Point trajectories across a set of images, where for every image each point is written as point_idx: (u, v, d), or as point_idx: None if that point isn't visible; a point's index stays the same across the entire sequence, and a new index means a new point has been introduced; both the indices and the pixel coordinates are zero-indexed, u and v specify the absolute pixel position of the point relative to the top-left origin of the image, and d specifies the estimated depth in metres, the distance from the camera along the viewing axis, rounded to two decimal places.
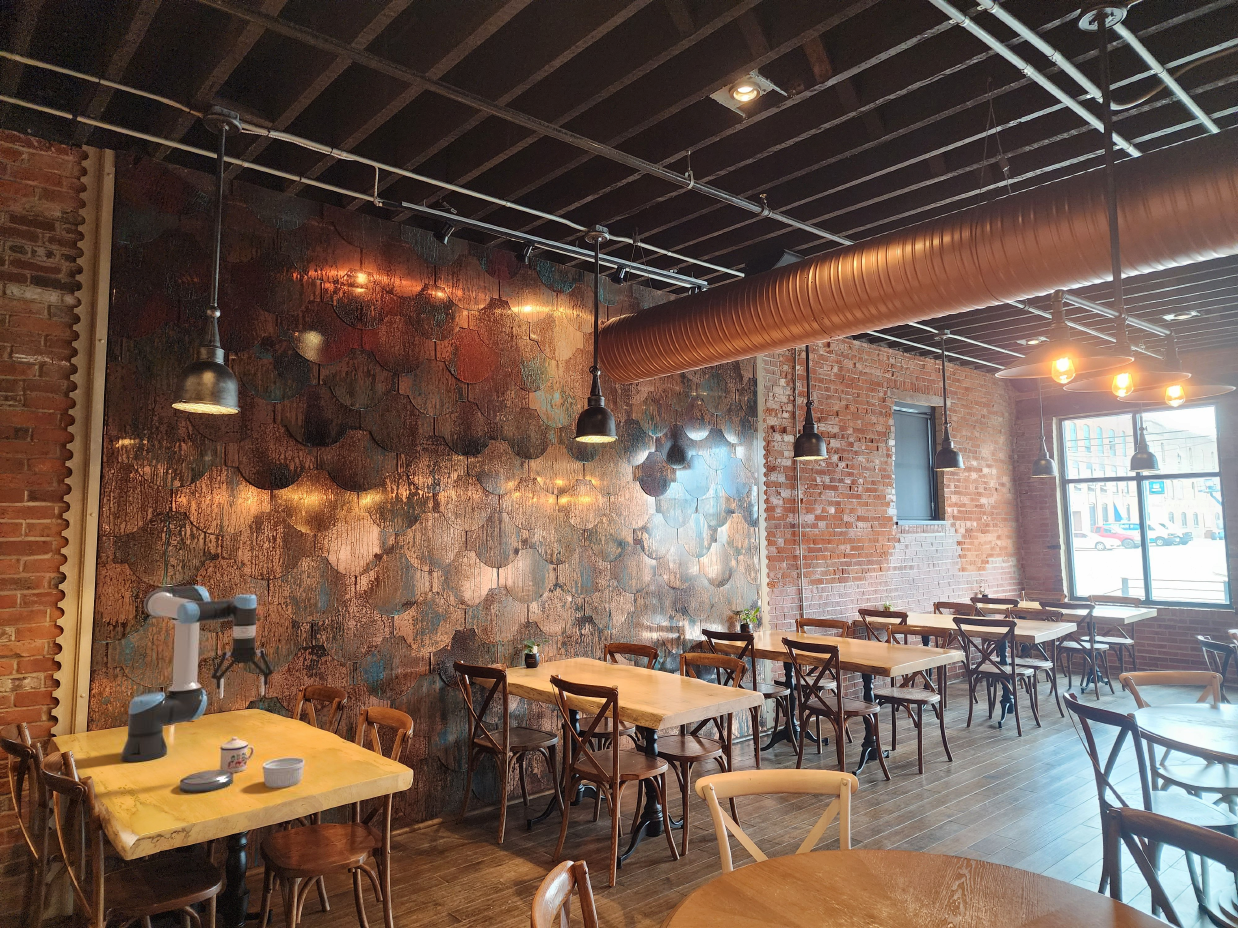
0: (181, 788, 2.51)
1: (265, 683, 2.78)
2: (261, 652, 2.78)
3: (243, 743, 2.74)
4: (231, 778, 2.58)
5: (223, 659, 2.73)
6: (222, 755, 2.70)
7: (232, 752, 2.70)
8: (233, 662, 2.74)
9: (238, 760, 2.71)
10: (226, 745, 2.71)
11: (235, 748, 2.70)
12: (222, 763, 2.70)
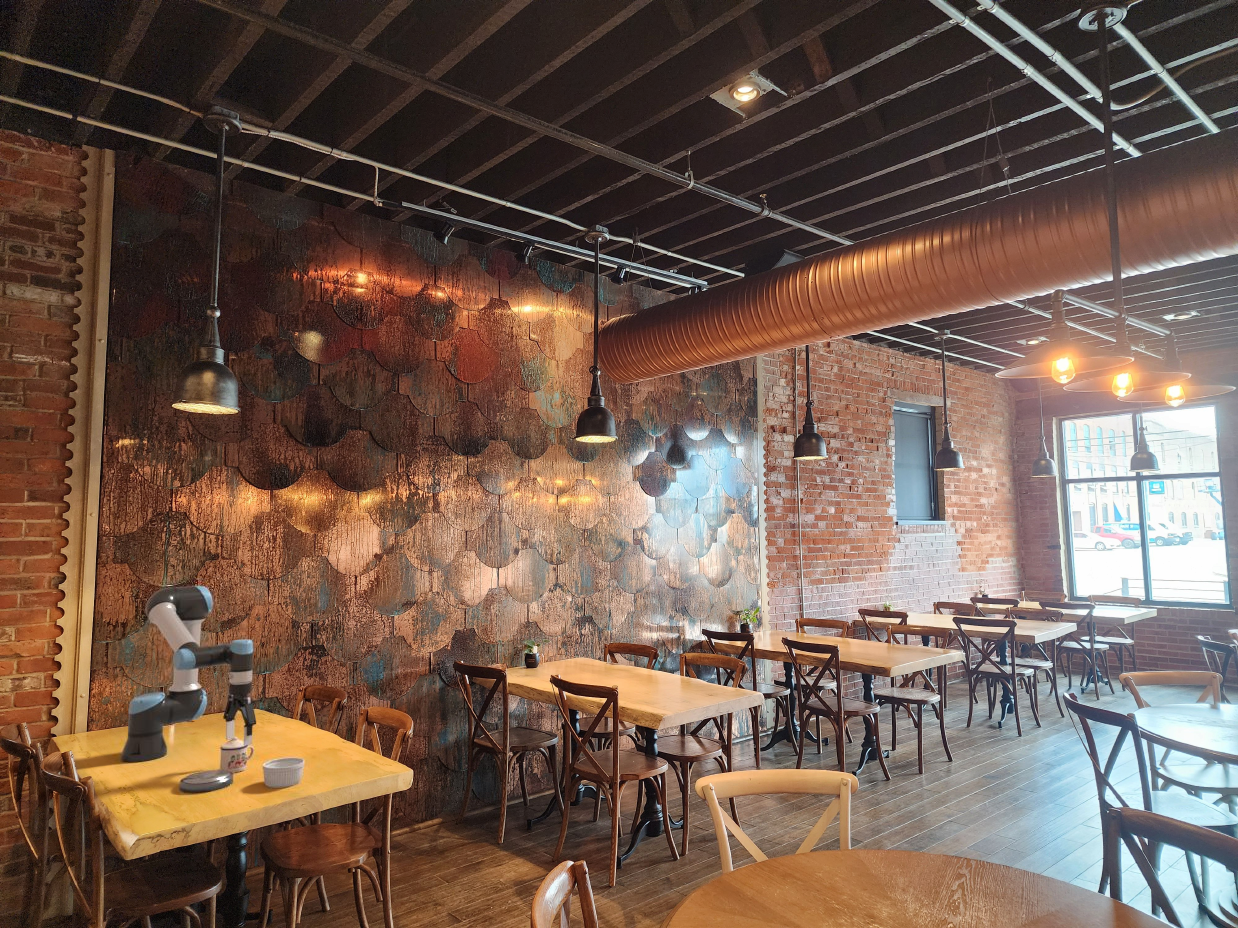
0: (181, 788, 2.51)
1: (247, 733, 2.70)
2: (244, 700, 2.72)
3: (243, 743, 2.74)
4: (231, 778, 2.58)
5: (228, 701, 2.80)
6: (222, 755, 2.70)
7: (232, 752, 2.70)
8: (231, 706, 2.77)
9: (238, 760, 2.71)
10: (226, 745, 2.71)
11: (235, 748, 2.70)
12: (222, 763, 2.70)
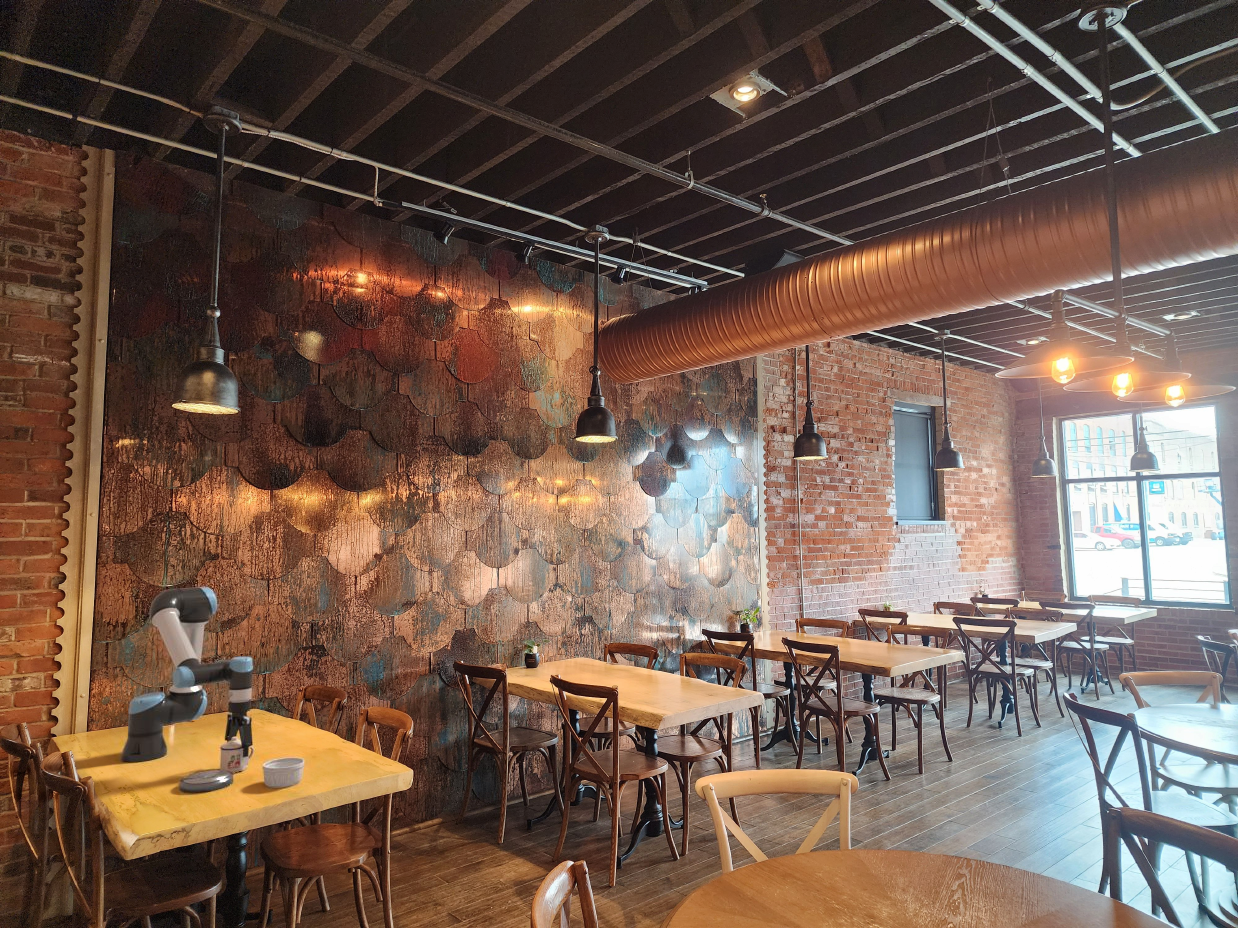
0: (181, 788, 2.51)
1: (243, 755, 2.71)
2: (243, 721, 2.72)
3: None
4: (231, 778, 2.58)
5: (228, 721, 2.79)
6: (222, 755, 2.70)
7: (232, 752, 2.70)
8: (231, 725, 2.76)
9: (238, 760, 2.71)
10: (226, 745, 2.71)
11: (235, 748, 2.70)
12: (222, 763, 2.70)
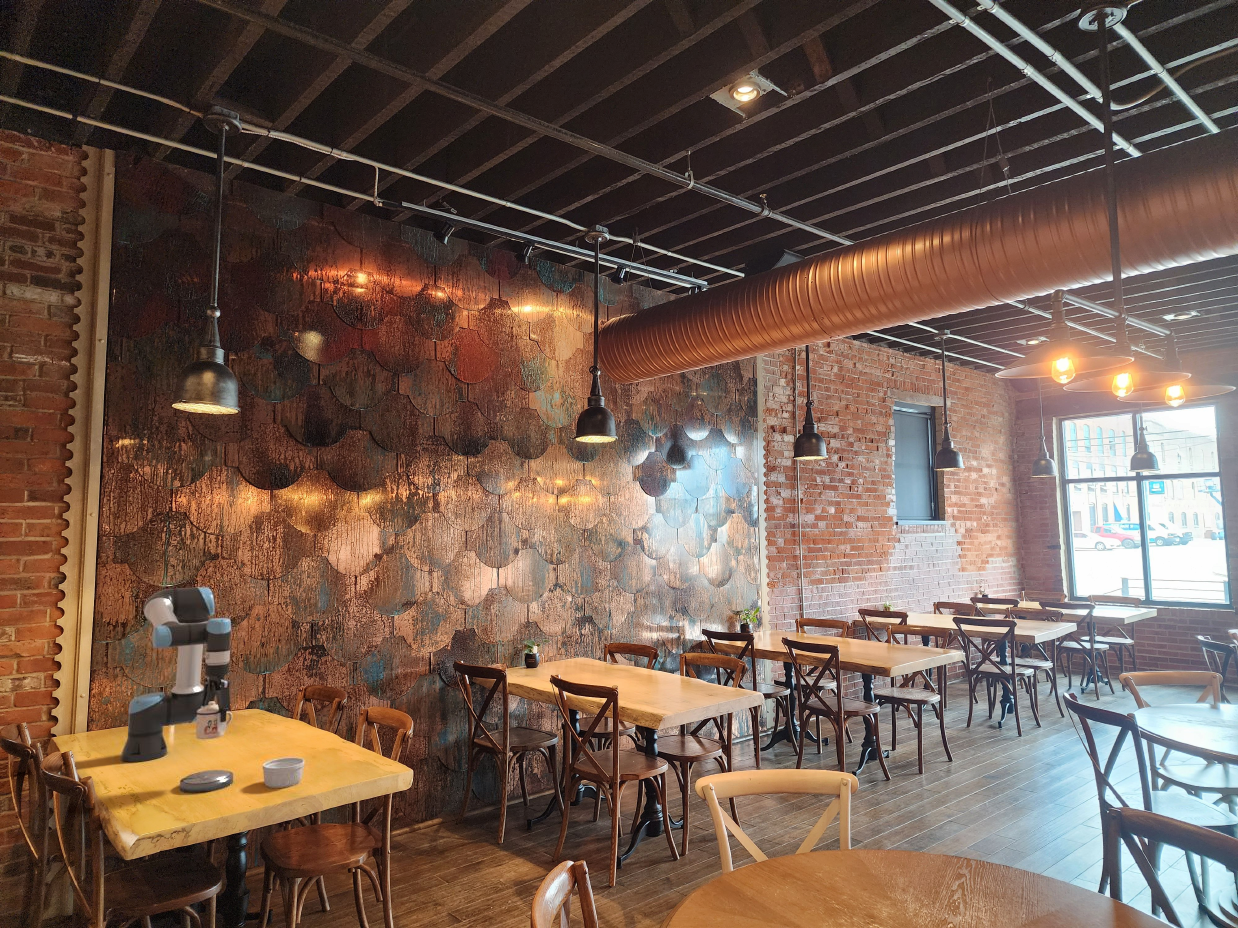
0: (181, 788, 2.51)
1: (221, 720, 2.58)
2: (221, 684, 2.58)
3: None
4: (231, 778, 2.58)
5: (204, 685, 2.65)
6: (198, 720, 2.57)
7: (208, 717, 2.57)
8: (208, 689, 2.63)
9: (215, 726, 2.58)
10: (202, 710, 2.58)
11: (212, 713, 2.57)
12: (198, 728, 2.57)
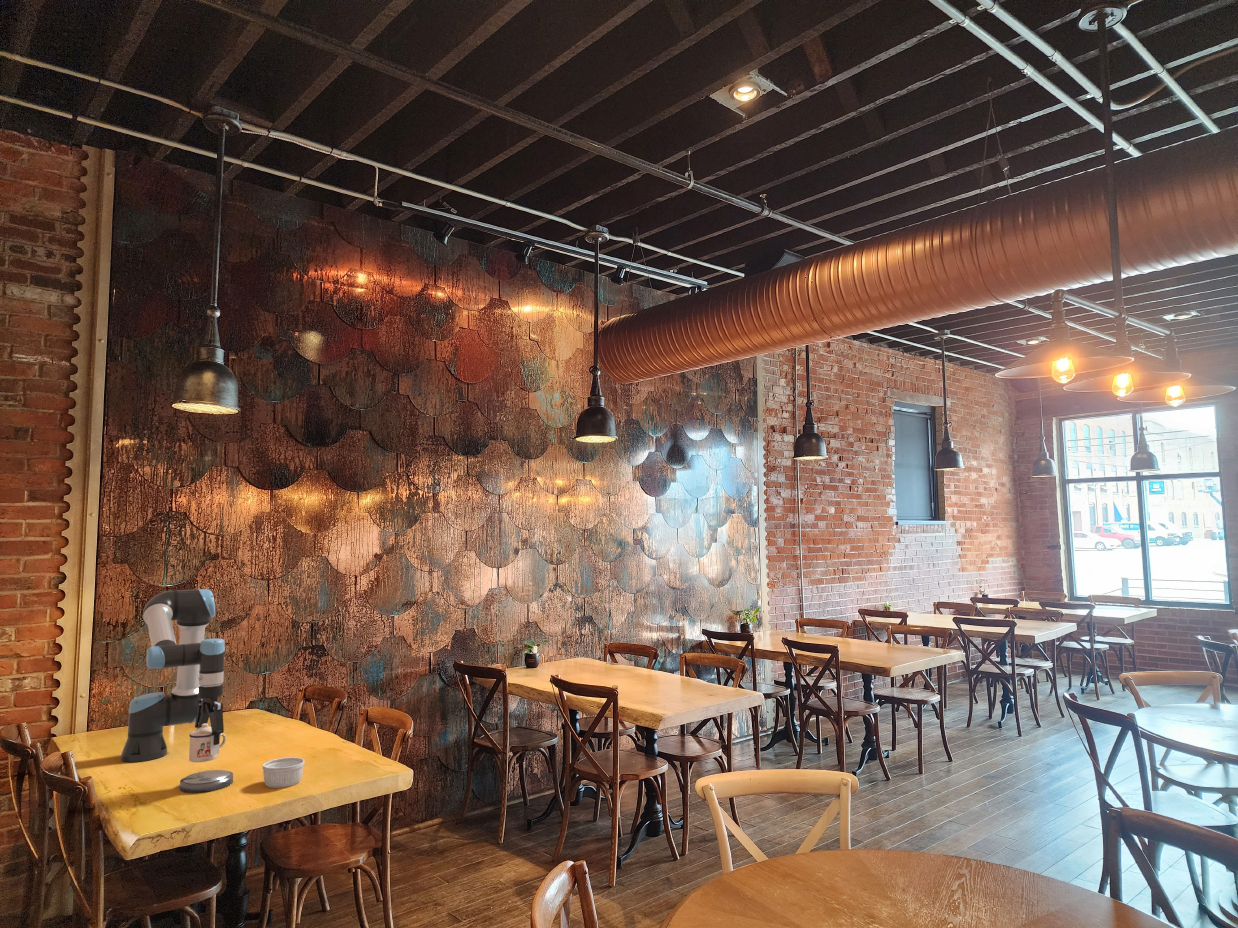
0: (181, 788, 2.51)
1: (214, 742, 2.54)
2: (214, 706, 2.55)
3: None
4: (231, 778, 2.58)
5: (198, 707, 2.62)
6: (191, 743, 2.53)
7: (201, 740, 2.53)
8: (201, 711, 2.59)
9: (208, 748, 2.54)
10: (195, 732, 2.54)
11: (205, 735, 2.53)
12: (191, 751, 2.53)
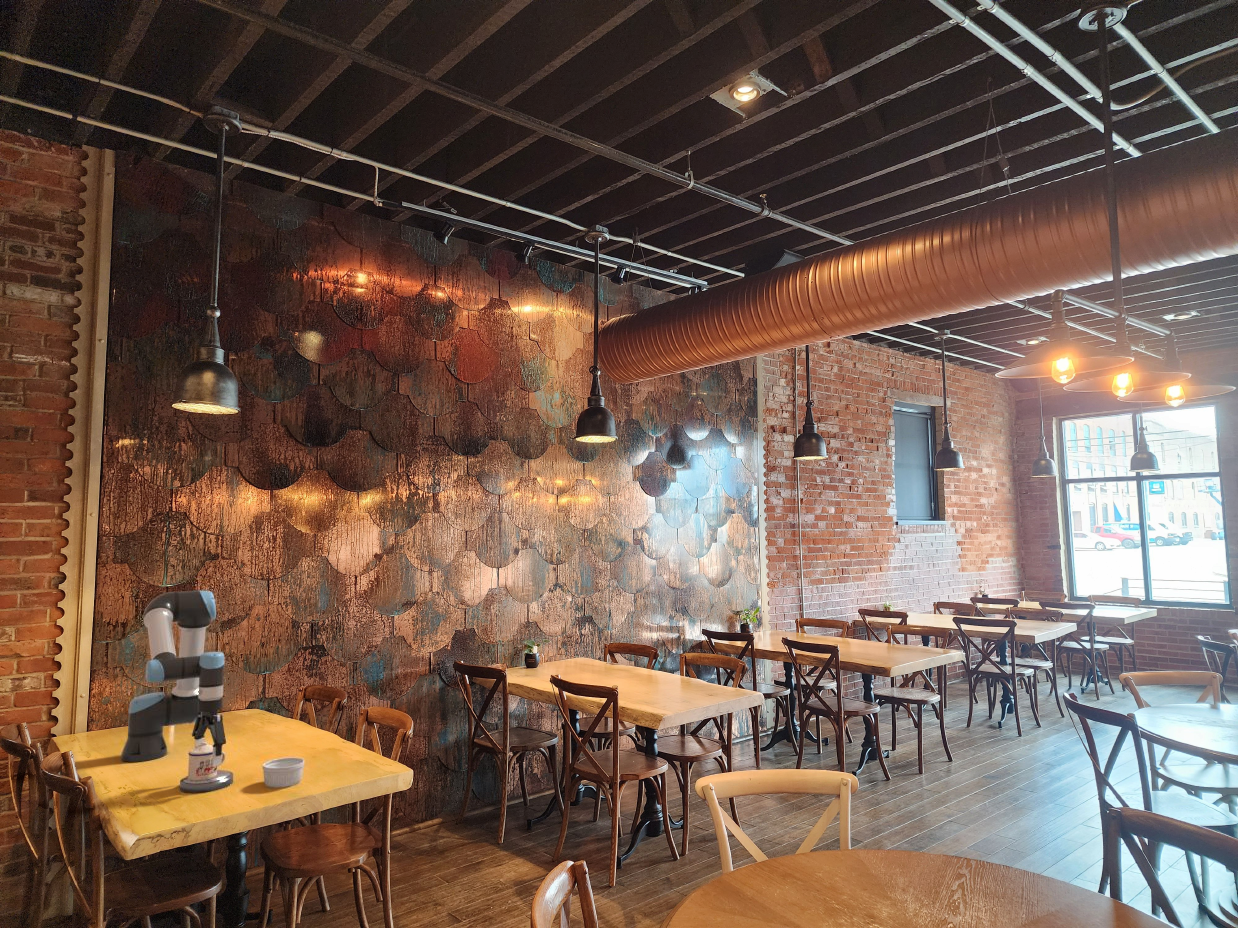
0: (181, 788, 2.51)
1: (216, 753, 2.53)
2: (214, 718, 2.54)
3: None
4: (231, 778, 2.58)
5: (197, 718, 2.62)
6: (190, 761, 2.53)
7: (200, 758, 2.53)
8: (200, 723, 2.59)
9: (207, 767, 2.53)
10: (195, 750, 2.54)
11: (204, 754, 2.53)
12: (190, 770, 2.52)
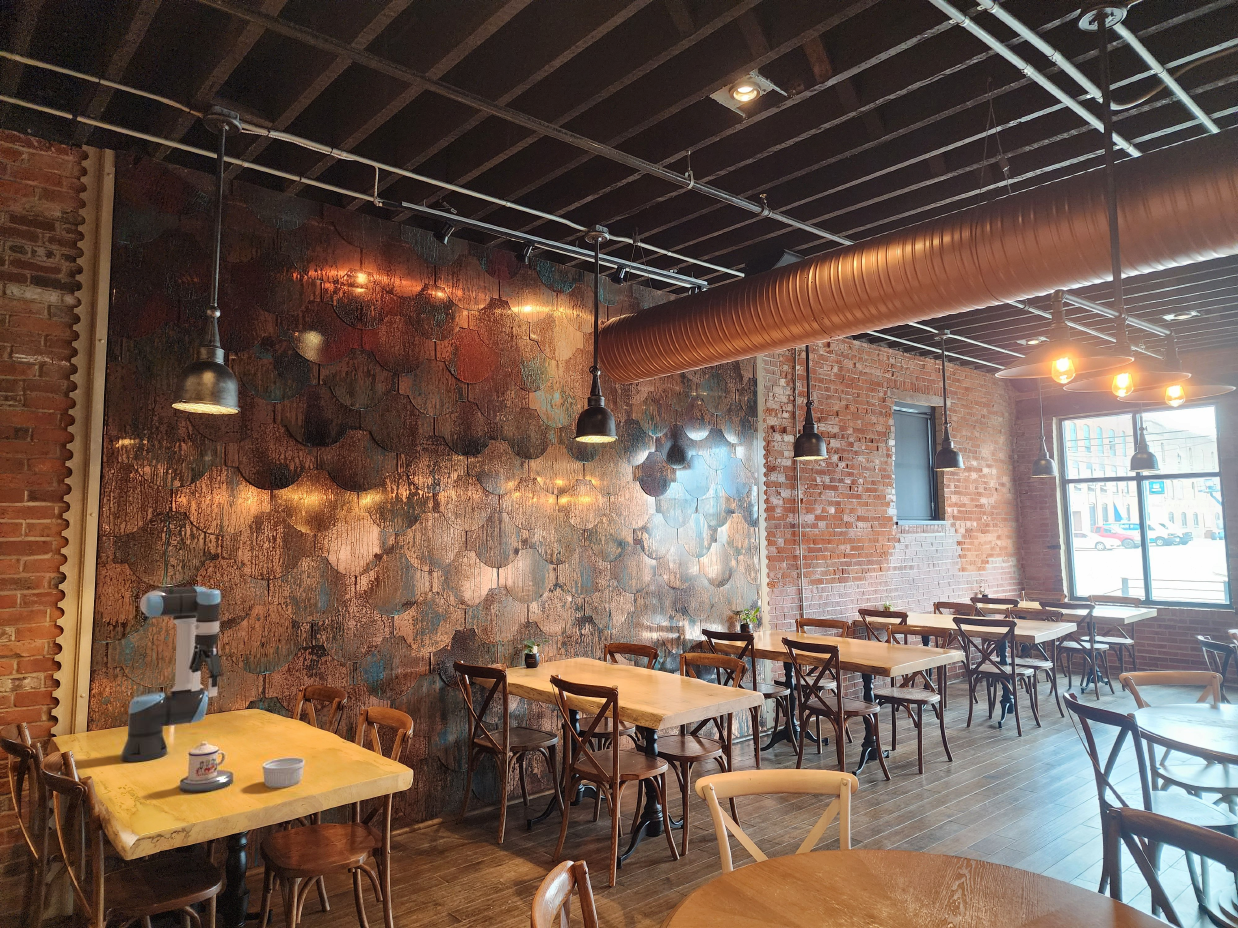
0: (181, 788, 2.51)
1: (212, 685, 2.64)
2: (210, 651, 2.66)
3: (213, 749, 2.56)
4: (231, 778, 2.58)
5: (194, 652, 2.73)
6: (190, 761, 2.53)
7: (200, 758, 2.53)
8: (197, 657, 2.71)
9: (207, 767, 2.53)
10: (195, 750, 2.54)
11: (204, 753, 2.53)
12: (190, 770, 2.52)
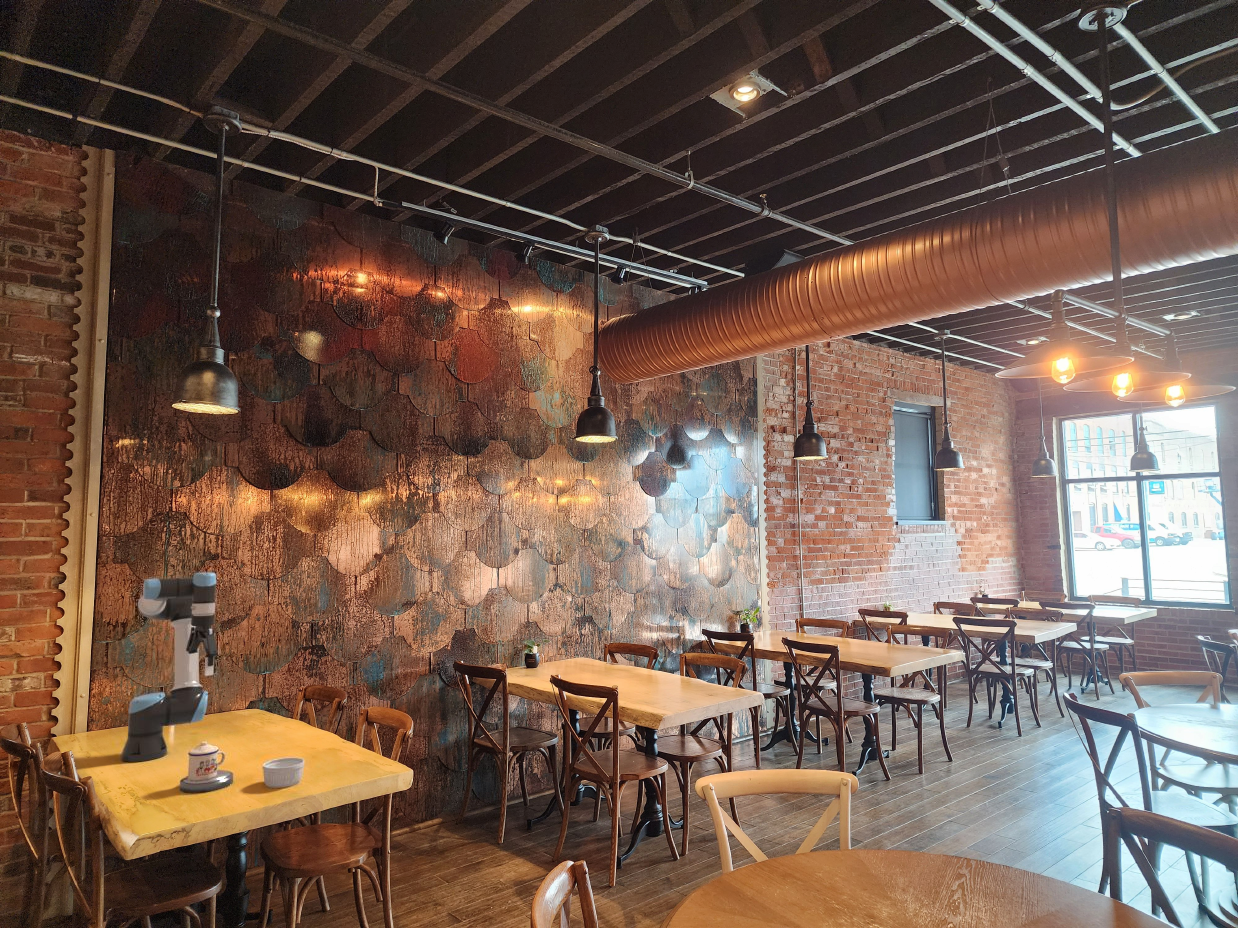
0: (181, 788, 2.51)
1: (208, 664, 2.71)
2: (206, 631, 2.73)
3: (213, 749, 2.56)
4: (231, 778, 2.58)
5: (191, 633, 2.81)
6: (190, 761, 2.53)
7: (200, 758, 2.53)
8: (193, 638, 2.78)
9: (207, 767, 2.53)
10: (194, 750, 2.54)
11: (204, 753, 2.53)
12: (190, 770, 2.52)
